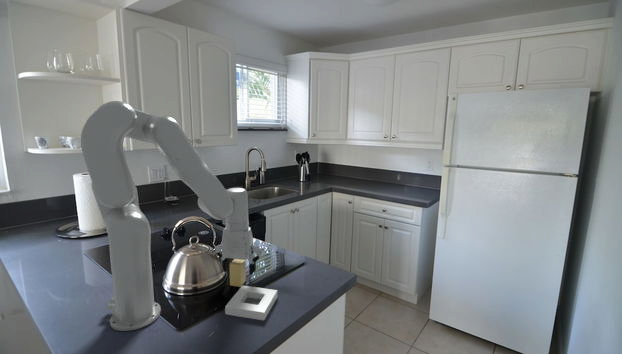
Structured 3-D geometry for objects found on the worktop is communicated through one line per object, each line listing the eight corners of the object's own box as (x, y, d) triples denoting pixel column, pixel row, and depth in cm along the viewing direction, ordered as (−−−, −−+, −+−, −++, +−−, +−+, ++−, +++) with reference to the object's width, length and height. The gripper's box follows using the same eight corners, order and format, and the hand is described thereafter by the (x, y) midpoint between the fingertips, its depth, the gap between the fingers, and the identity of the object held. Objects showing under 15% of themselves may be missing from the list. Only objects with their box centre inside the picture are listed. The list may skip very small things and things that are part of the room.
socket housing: (225, 314, 89) (225, 306, 89) (242, 292, 101) (242, 285, 100) (264, 320, 87) (264, 312, 86) (277, 297, 98) (277, 290, 98)
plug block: (230, 285, 105) (229, 263, 103) (235, 279, 109) (234, 258, 107) (240, 286, 104) (240, 265, 103) (245, 281, 108) (245, 260, 107)
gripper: (208, 226, 101) (210, 274, 104) (257, 230, 97) (258, 279, 101) (219, 219, 108) (221, 264, 111) (265, 223, 105) (266, 269, 108)
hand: (239, 271), depth 106 cm, fingers open, 9 cm apart
